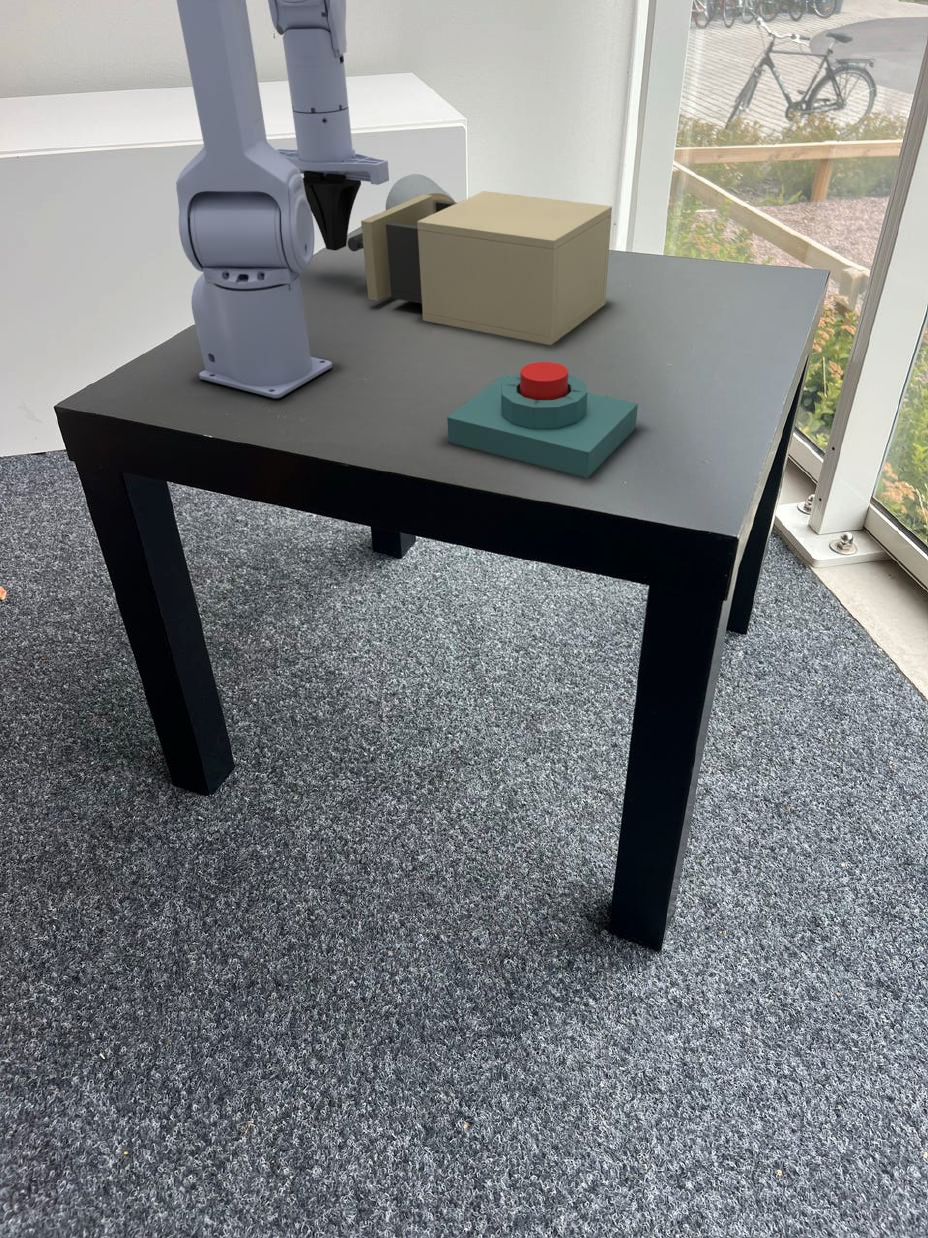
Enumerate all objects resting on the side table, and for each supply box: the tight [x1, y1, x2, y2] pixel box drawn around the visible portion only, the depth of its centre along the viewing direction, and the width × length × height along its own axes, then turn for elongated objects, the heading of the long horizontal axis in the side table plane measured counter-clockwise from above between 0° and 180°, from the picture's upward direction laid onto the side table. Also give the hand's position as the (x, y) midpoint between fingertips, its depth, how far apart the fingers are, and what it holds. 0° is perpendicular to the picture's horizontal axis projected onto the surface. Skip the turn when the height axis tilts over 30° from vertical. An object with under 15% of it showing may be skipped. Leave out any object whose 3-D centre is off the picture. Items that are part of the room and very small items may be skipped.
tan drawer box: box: [417, 190, 613, 346], centre depth 88 cm, size 15×13×10 cm
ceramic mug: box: [385, 173, 456, 214], centre depth 108 cm, size 11×8×8 cm
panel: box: [446, 373, 639, 479], centre depth 69 cm, size 12×9×4 cm
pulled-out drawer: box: [347, 195, 458, 304], centre depth 92 cm, size 18×11×8 cm, turn 59°
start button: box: [519, 361, 569, 400], centre depth 67 cm, size 4×4×2 cm
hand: (336, 247), depth 99 cm, fingers closed
